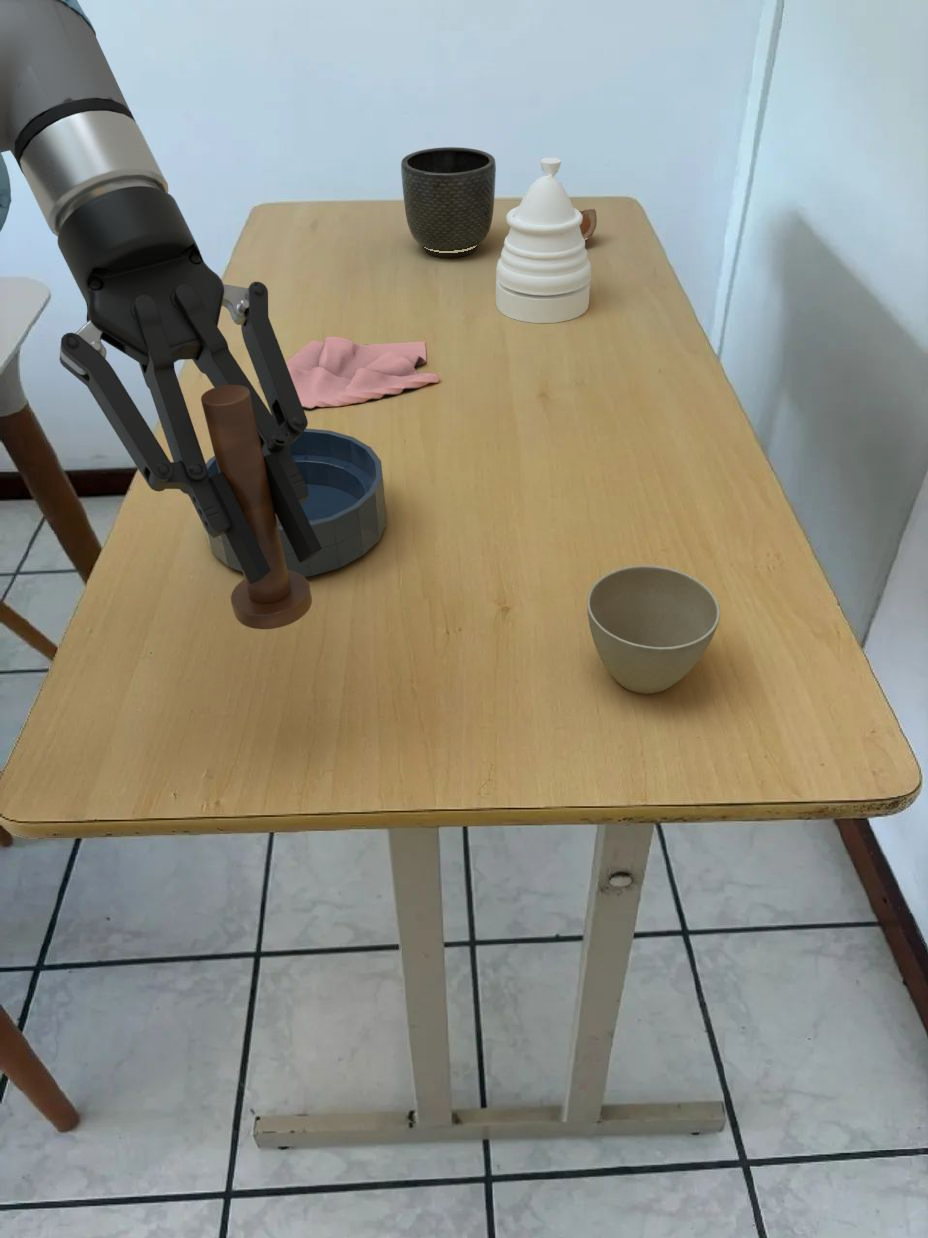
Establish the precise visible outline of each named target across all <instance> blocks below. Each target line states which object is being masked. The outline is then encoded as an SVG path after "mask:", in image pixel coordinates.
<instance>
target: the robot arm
mask: <svg viewBox="0 0 928 1238" xmlns="http://www.w3.org/2000/svg"><path fill="white" fill-rule="evenodd" d="M5 152H10V153H11V154H12V156H13V157H14V159H15V160H16V163H17V165H18V167H19V170H20V172H21V173H22V174H23V175H24V176H23V177H24V178H25V181H26V182H27V184H28V186H29V188H30V190H31V192H32V195H33V196H34V199H35V201H36V203H37V205H38V206H39V209H40V211H41V213H42V216H43V218H44V219H45V222H46V224H47V226H48V228H49V230H50V231H51V233H52V234H53V235H55V236H56V237H57V246H58V249H59V251H60V253H61V255H62V257H63V259H64V261H65V263H66V265H67V268H68V269H69V271H70V273H71V275H72V277H73V279H74V281H75V283H76V285H77V287H78V289H79V291H80V294H81V295H82V298H83V299H84V301H85V305H86V323H84V324H83V326H82V327H80V328H79V329H78V330H77V331H76V332H66V333H65V334H63V336H62V337H61V339H60V347H59V362H60V365H62V367H63V368H64V369H65V370H67V371H68V372H69V373H70V374H72V375H73V376H74V377H75V378H76V379H78V380H79V381H80V382H81V383H82V384H84V385H85V386H86V387H87V389H88V391H89V392H90V393H91V395H92V397H93V398H94V400H95V402H96V404H97V405H98V407H99V409H100V410H101V411H102V413H103V415H104V416H105V418H106V420H107V421H108V422H109V424H110V426H111V427H112V429H113V430H114V432H115V434H116V435H117V437H118V438H119V440H120V442H121V444H122V445H123V447H124V448H125V450H126V451H127V453H128V455H129V456H130V458H131V460H132V462H133V463H134V465H135V466H136V467H137V469H138V471H139V472H140V474H141V476H142V477H143V479H144V480H145V482H146V484H147V486H148V487H149V488H150V489H151V490H153V491H154V492H163V491H165V490H180V491H181V493H183V494H185V495H188V497H189V498H190V501H191V503H192V505H193V507H194V509H195V511H196V513H197V515H198V517H199V519H200V521H201V524H202V523H203V524H202V526H203V525H204V527H205V529H206V531H207V532H208V533H209V534H210V535H211V536H212V537H213V538H215V537H218V536H220V535H223V534H226V536H227V538H228V540H229V542H230V545H231V547H232V549H233V551H234V553H235V555H236V557H237V559H238V561H239V563H240V565H241V567H242V569H243V571H244V573H245V575H246V577H247V579H248V581H249V583H250V584H252V583H255V582H257V581H259V580H261V579H262V578H264V577H265V576H266V575H267V574H268V573H269V572H270V571H271V569H270V567H269V565H268V563H267V561H266V559H265V557H264V555H263V553H262V551H261V549H260V547H259V545H258V543H257V541H256V539H255V536H254V534H253V532H252V530H251V528H250V526H249V524H248V522H247V520H246V518H245V516H244V514H243V512H242V510H241V508H240V506H239V504H238V502H237V500H236V498H235V496H234V494H233V492H232V490H231V488H230V486H229V484H228V481H227V479H226V477H225V475H224V473H223V472H220V473H218V474H215V475H212V476H211V477H210V478H209V476H208V474H207V466H206V463H207V462H206V461H205V458H204V454H203V451H202V448H201V445H200V443H199V440H198V437H197V433H196V430H195V427H194V424H193V421H192V419H191V416H190V412H189V409H188V406H187V403H186V400H185V397H184V394H183V391H182V388H181V384H180V382H179V378H178V376H177V373H176V370H175V363H176V362H177V361H182V360H185V361H186V360H191V361H193V363H194V364H195V366H196V367H197V369H198V370H199V372H201V374H204V375H205V376H206V377H207V379H208V380H209V382H210V383H211V385H212V386H213V388H215V387H219V386H224V385H241V386H245V387H247V388H248V389H249V391H250V394H251V399H252V404H253V409H254V413H255V418H256V423H257V428H258V432H259V437H260V442H261V447H262V451H263V456H264V461H265V466H266V471H267V475H268V480H269V485H270V490H271V494H272V499H273V504H274V509H275V513H276V515H277V517H278V519H279V521H280V524H281V526H282V528H283V530H284V532H285V534H286V536H287V538H288V540H289V542H290V544H291V546H292V548H293V550H294V552H295V554H296V556H297V558H298V560H299V562H300V563H301V562H303V561H306V560H308V559H310V558H311V557H313V556H314V555H315V554H316V553H317V552H319V551H320V550H321V549H322V547H321V545H320V543H319V541H318V539H317V537H316V535H315V533H314V531H313V529H312V527H311V525H310V523H309V521H308V519H307V517H306V515H305V513H304V511H303V509H302V506H301V504H300V503H303V502H304V501H305V499H306V498H307V497H308V488H307V486H306V484H305V482H304V480H303V477H302V475H301V474H300V471H299V469H298V467H297V465H296V463H295V461H294V459H293V457H292V455H291V452H290V445H291V444H292V443H294V442H295V441H296V440H297V439H298V438H299V436H300V435H301V434H302V432H303V431H304V430H305V428H307V427H308V424H309V423H308V417H307V414H306V412H305V409H304V408H303V407H302V404H301V402H300V399H299V396H298V394H297V391H296V389H295V386H294V383H293V381H292V378H291V375H290V373H289V370H288V367H287V365H286V363H287V361H286V360H285V357H284V354H283V351H282V349H281V346H280V344H279V341H278V338H277V336H276V334H275V331H274V328H273V325H272V323H271V320H270V317H269V290H268V288H267V286H266V284H264V283H263V282H261V281H253V282H251V283H250V284H249V286H248V287H242V286H236V285H231V284H225V283H224V282H223V280H222V278H221V277H220V276H219V275H218V274H217V273H216V272H215V271H213V270H212V269H211V268H210V267H209V266H208V265H207V264H206V262H205V261H204V258H203V256H202V254H201V251H200V248H199V246H198V244H197V242H196V239H195V238H194V235H193V234H192V231H191V230H190V227H189V224H187V221H186V219H185V217H184V215H183V212H182V211H181V209H180V207H179V205H178V203H177V201H176V199H175V197H173V195H171V194H170V193H169V185H168V181H167V179H166V177H165V175H164V174H163V172H162V170H161V168H160V165H159V163H158V162H157V160H156V158H155V156H154V153H153V152H152V150H151V147H150V146H149V144H148V141H147V140H146V138H145V136H144V134H143V132H142V130H141V128H140V126H139V124H138V123H137V121H136V119H135V118H134V115H133V113H132V111H131V109H130V107H129V105H128V103H127V101H126V98H125V97H124V94H123V92H122V90H121V87H120V85H119V84H118V81H117V79H116V77H115V75H114V73H113V70H112V69H111V66H110V64H109V61H108V60H107V57H106V55H105V53H104V51H103V49H102V47H101V44H100V43H99V40H98V38H97V33H96V30H95V28H94V26H93V24H92V22H91V21H90V18H89V17H88V16H87V15H86V13H85V11H84V10H83V9H82V7H81V4H80V3H79V1H78V0H0V233H1V232H2V230H3V228H4V225H5V223H6V221H7V218H8V215H9V212H10V206H11V204H12V187H11V179H10V174H9V171H8V167H7V164H6V161H5V159H4V156H3V155H2V153H5ZM222 307H224V308H226V309H227V310H228V312H229V314H230V316H231V319H232V320H233V321H232V322H234V324H235V325H238V326H239V325H240V331H241V333H242V335H241V336H242V340H243V343H244V345H245V348H246V351H247V353H248V357H249V358H250V362H251V364H252V366H253V369H254V372H255V374H256V377H257V380H258V382H260V384H259V386H260V388H261V390H262V393H263V396H264V398H265V401H266V404H267V406H266V404H265V402H264V401H263V399H262V398H261V396H260V395H259V393H258V392H257V390H256V389H255V387H254V386H253V384H252V383H251V381H250V380H249V378H248V377H247V375H246V373H245V372H244V370H243V369H242V367H241V366H240V364H239V363H238V362H237V360H236V358H235V357H234V356H233V354H232V352H231V351H230V348H229V344H228V341H227V339H226V337H225V336H224V335H223V333H222V331H221V330H220V328H219V327H218V326H219V322H220V316H221V313H222V312H221V311H222ZM102 341H103V342H105V343H107V344H108V345H109V346H112V348H115V349H116V350H118V351H119V352H122V353H123V354H124V355H126V356H128V357H129V358H131V359H132V360H134V361H135V362H138V365H139V368H140V371H141V374H142V377H143V380H144V382H145V385H146V388H148V389H149V391H150V395H151V398H152V401H153V404H154V407H155V409H156V413H157V416H158V420H159V422H160V425H161V428H162V432H163V434H164V438H165V440H166V444H167V446H168V449H169V452H170V456H171V458H172V461H171V460H170V459H169V457H168V455H167V454H166V452H165V451H164V448H163V447H162V446H161V444H160V442H159V441H158V439H157V437H156V436H155V434H154V433H153V431H152V429H151V428H150V426H149V425H148V422H146V420H145V418H144V417H143V415H142V414H141V412H140V410H139V409H138V407H137V405H136V404H135V402H134V400H133V399H132V397H131V395H130V394H129V392H128V390H127V389H126V387H125V386H124V384H123V383H122V381H121V380H120V378H119V376H118V375H117V373H116V371H115V369H114V368H113V366H112V365H111V364H110V362H109V361H108V360H107V348H106V347H105V345H104V343H102Z"/></svg>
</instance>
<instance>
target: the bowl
mask: <svg viewBox="0 0 928 1238" xmlns="http://www.w3.org/2000/svg"><path fill="white" fill-rule="evenodd" d="M290 452H291V455H292V457H293V459H294V461H295V463H296V465H297V467H298V469H299V471H300V474H301V475H302V477H303V480H304V482H305V484H306V486H307V488H308V497H307V498H306V499H305V501H304V502H303V503H300V504H301V506H302V509H303V511H304V513H305V515H306V517H307V519H308V521H309V523H310V525H311V527H312V529H313V531H314V533H315V535H316V537H317V539H318V541H319V543H320V545H321V547H322V549H321V550H320V551H319V552H317V553H316V554H315V555H314V556H313V557H311V558H310V559H308V560H306V561H303V562H301V563H300V562H299V560H298V558H297V556H296V554H295V552H294V550H293V548H292V546H291V544H290V542H289V540H288V538H287V536H286V534H285V532H284V530H283V528H282V526H278V528H279V532H280V537H281V542H282V547H283V552H284V556H285V561H286V566H287V570H290V571H294V572H297V573H299V574H301V575H302V576H304V577H305V578H306V577H312V576H316V575H320V574H323V573H328V572H330V571H334V570H338V569H340V568H342V567H344V566H346V565H348V564H350V563H351V562H354V561H355V560H357V559H359V558H361V557H363V556H364V555H365V554H366V553H368V551H369V550H371V548H373V547H374V546H375V545H376V544H377V543H378V542H379V541H380V539H381V537H382V535H383V532H384V530H385V528H386V526H387V524H388V523H387V513H386V512H387V510H386V501H385V489H384V488H385V487H384V477H383V476H384V475H383V466H382V460H381V459H380V457H379V456H378V455H377V453H376V452H375V451H374V449H373V448H372V447H371V446H369V445H368V444H365V443H364V442H362V441H361V440H359V439H358V438H356V437H354V436H351V435H347V434H344V433H341V432H336V431H334V430H328V429H316V428H307V427H306V428H305V430H304V431H303V432H302V434H301V435H300V436H299V438H298V439H297V440H296V441H295V442H294V443H292V444H291V445H290ZM205 463H206V466H207V474H208V476H209V478H210V477H211V476H212V475H215V474H218V473H219V471H218V467H217V463H216V459H215V455H213V456H212V457H210V458H209V459H208V460H207V461H206V462H205ZM201 524H202V528H203V532H204V536H205V540H206V542H207V544H208V546H209V549H210V551H211V554H213V555H214V557H216V558H217V559H218V560H220V561H221V562H222V563H223V564H225V565H226V566H227V567H228V568H230V569H233V570H236V571H239V572H241V573H243V570H242V567H241V565H240V563H239V561H238V559H237V557H236V555H235V553H234V551H233V549H232V547H231V545H230V542H229V540H228V538H227V536H226V534H223V535H220V536H218V537H215V538H213V537H212V536H211V535H210V534H209V533H208V532H207V531H206V529H205V527H204V525H203V523H202V522H201Z"/></svg>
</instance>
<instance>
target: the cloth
mask: <svg viewBox="0 0 928 1238" xmlns="http://www.w3.org/2000/svg"><path fill="white" fill-rule="evenodd" d="M425 363H427V349H426V341H409V342H408V341H407V342H406V341H405V342H392V343H391V342H390V343H374V344H359V343H358V342H355V341H352V340H351V339H348V338H344V337H341V336H325V338H324V341H318V340H317V341H316V340H311V341H309V342H308V343H307V344H305V345H304V346H303V347H302V348H301V349H300V350H299V351H297V353H295V354H294V355H293V356H292V357H290V359H288V361H286V365H287V367H288V370H289V373H290V375H291V378H292V381H293V383H294V386H295V389H296V391H297V394H298V396H299V399H300V402H301V404H302V407H303V409H307V410H312V409H313V408H315V407H317V408H332V407H343V406H349V405H352V404H362V403H366V402H368V401H371V400H380V399H383V398H386V397H388V396H391V395H393V396H394V395H395V396H396V395H401V394H403V393H405V392H407V391H410V390H413V389H421V388H424V387H426V386H427V385H428V384H434V383H435V384H437V383H439V381H440V380H439V379H440V378H439V377H440V376H439V375H438V374H435V373H432V372H423V373H420V372H418V371H417V370H416V368H415V367H419V366H421V365H423V364H425ZM257 383H258V384H259V385H260V382H259V381H258V382H257Z"/></svg>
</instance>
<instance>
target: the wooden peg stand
mask: <svg viewBox="0 0 928 1238" xmlns="http://www.w3.org/2000/svg"><path fill="white" fill-rule="evenodd" d="M200 402H201V406H202V410H203V414H204V418H205V423H206V426H207V430H208V434H209V439H210V443H211V447H212V451H213V456H215V459H216V463H217V467H218V471H219V473H220V472H223V473H224V475H225V477H226V479H227V481H228V484H229V486H230V488H231V490H232V492H233V494H234V496H235V498H236V500H237V502H238V504H239V506H240V508H241V510H242V512H243V514H244V516H245V518H246V520H247V522H248V524H249V526H250V528H251V530H252V532H253V534H254V536H255V539H256V541H257V543H258V545H259V547H260V549H261V551H262V553H263V555H264V557H265V559H266V561H267V563H268V565H269V567H270V569H271V571H270V572H269V573H268V574H267V575H266V576H265V577H264V578H262V579H261V580H259V581H257V582H255V583H252V584H250V583H249V581H248V579H247V577H246V575H245V573H244V571H243V572H242V573H243V577H244V579H242V580H241V581H240V582H239V583H237V584H236V585H235V586H234V588H233V590H232V591H231V595H230V603H231V606H232V610H233V615H234V617H235V619H236V620H237V621H238V623H240V624H241V625H243V626H245V627H248V628H251V629H254V630H274V629H279V628H283V627H286V626H289V625H291V624H293V623H295V622H297V621H299V620H300V619H301V618H303V617H304V616H305V615H306V614H307V613H308V611H310V608H311V606H312V603H313V598H312V597H313V596H312V592H311V589H310V588H311V587H310V583H309V581H308V579H307V578H306V577H304V576H302V575H301V574H299V573H297V572H294V571H290V570H287V566H286V561H285V556H284V552H283V547H282V542H281V537H280V532H279V528H278V523H277V518H276V513H275V509H274V504H273V499H272V494H271V490H270V485H269V480H268V475H267V471H266V466H265V461H264V456H263V451H262V447H261V442H260V437H259V432H258V428H257V423H256V418H255V413H254V409H253V404H252V399H251V394H250V391H249V389H248V388H247V387H245V386H241V385H224V386H219V387H215V388H214V387H213V388H209V389H208V390H206V391H205V392H204V393H202V395H201V397H200ZM242 570H243V569H242Z"/></svg>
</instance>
